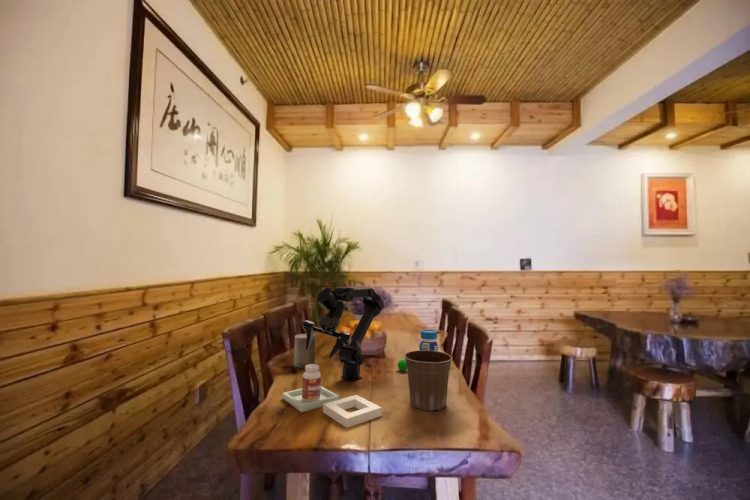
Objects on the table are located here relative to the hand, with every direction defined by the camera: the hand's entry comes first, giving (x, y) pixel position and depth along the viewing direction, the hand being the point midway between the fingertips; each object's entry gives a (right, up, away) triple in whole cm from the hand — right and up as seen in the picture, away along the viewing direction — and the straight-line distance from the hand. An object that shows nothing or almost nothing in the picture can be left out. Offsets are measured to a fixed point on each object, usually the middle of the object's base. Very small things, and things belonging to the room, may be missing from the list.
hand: (317, 354), depth 119 cm
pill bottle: (-1, -13, -7) cm, 15 cm away
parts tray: (-1, -14, -7) cm, 15 cm away
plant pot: (+38, -15, -8) cm, 42 cm away
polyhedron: (+33, -17, +30) cm, 48 cm away
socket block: (+13, -13, -17) cm, 25 cm away
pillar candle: (-12, -16, +35) cm, 40 cm away
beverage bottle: (+43, -16, +18) cm, 49 cm away
